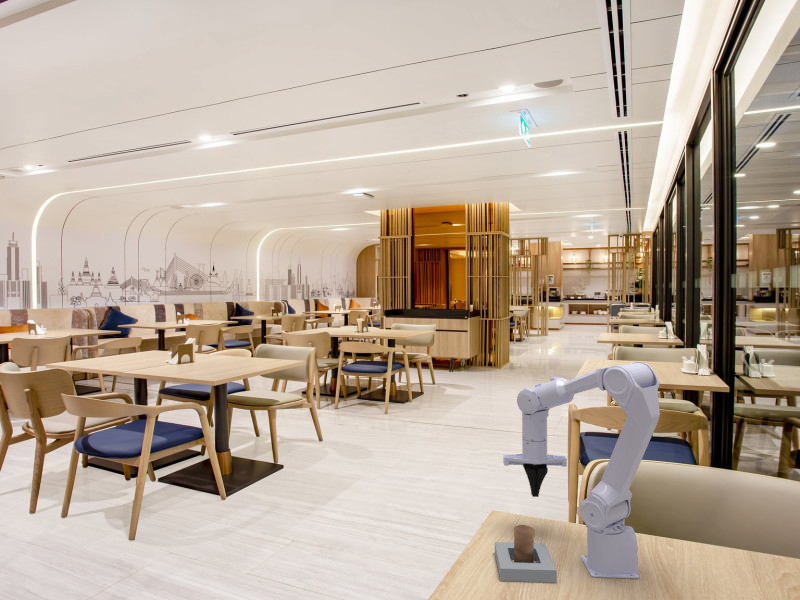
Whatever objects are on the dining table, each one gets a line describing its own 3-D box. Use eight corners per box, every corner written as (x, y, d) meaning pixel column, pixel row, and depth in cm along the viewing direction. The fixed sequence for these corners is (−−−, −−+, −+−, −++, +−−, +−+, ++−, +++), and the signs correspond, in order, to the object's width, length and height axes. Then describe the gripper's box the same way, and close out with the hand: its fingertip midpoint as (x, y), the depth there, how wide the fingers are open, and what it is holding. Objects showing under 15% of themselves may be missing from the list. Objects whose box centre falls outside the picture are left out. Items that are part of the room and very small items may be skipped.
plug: (532, 562, 110) (532, 525, 110) (535, 572, 106) (534, 534, 106) (513, 561, 111) (513, 524, 111) (515, 571, 107) (515, 533, 107)
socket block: (545, 554, 114) (545, 543, 114) (556, 582, 103) (556, 570, 103) (494, 553, 114) (494, 541, 114) (500, 580, 103) (500, 568, 103)
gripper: (561, 434, 126) (561, 489, 126) (501, 433, 127) (502, 488, 127) (568, 442, 119) (569, 501, 119) (505, 441, 120) (505, 499, 120)
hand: (534, 495), depth 123 cm, fingers closed
